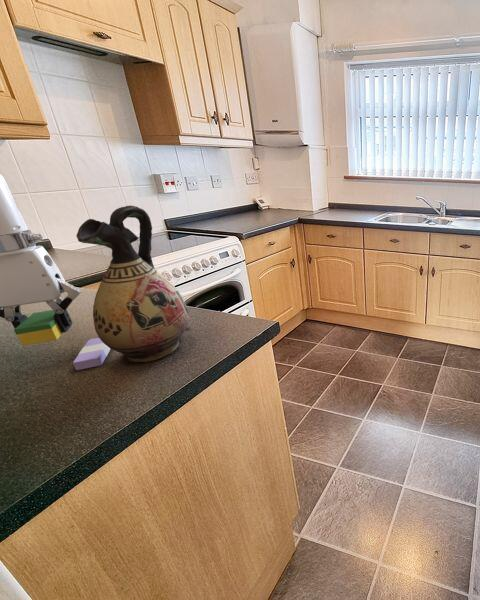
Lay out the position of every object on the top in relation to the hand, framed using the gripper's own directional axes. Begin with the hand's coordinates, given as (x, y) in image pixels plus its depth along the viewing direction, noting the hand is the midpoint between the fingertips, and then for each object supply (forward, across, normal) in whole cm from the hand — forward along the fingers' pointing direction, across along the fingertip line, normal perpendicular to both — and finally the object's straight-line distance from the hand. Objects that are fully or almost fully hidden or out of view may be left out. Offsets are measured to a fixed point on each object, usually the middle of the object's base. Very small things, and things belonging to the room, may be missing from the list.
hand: (48, 331), depth 67 cm
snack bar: (+6, -6, +2) cm, 9 cm away
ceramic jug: (+7, -18, +5) cm, 20 cm away
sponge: (0, 0, 0) cm, 0 cm away
